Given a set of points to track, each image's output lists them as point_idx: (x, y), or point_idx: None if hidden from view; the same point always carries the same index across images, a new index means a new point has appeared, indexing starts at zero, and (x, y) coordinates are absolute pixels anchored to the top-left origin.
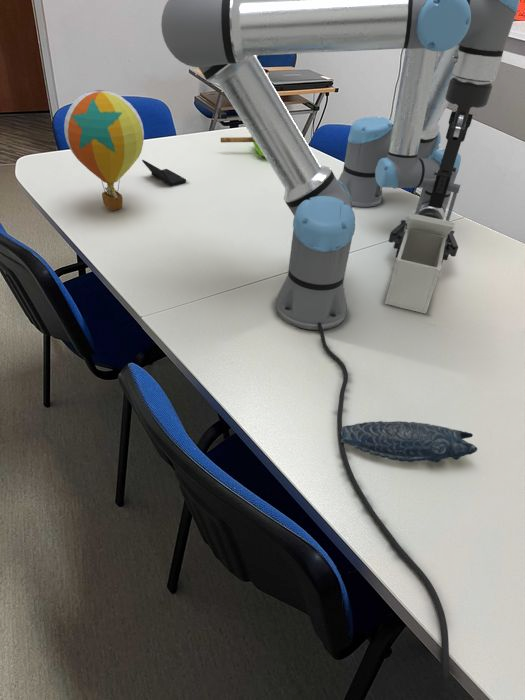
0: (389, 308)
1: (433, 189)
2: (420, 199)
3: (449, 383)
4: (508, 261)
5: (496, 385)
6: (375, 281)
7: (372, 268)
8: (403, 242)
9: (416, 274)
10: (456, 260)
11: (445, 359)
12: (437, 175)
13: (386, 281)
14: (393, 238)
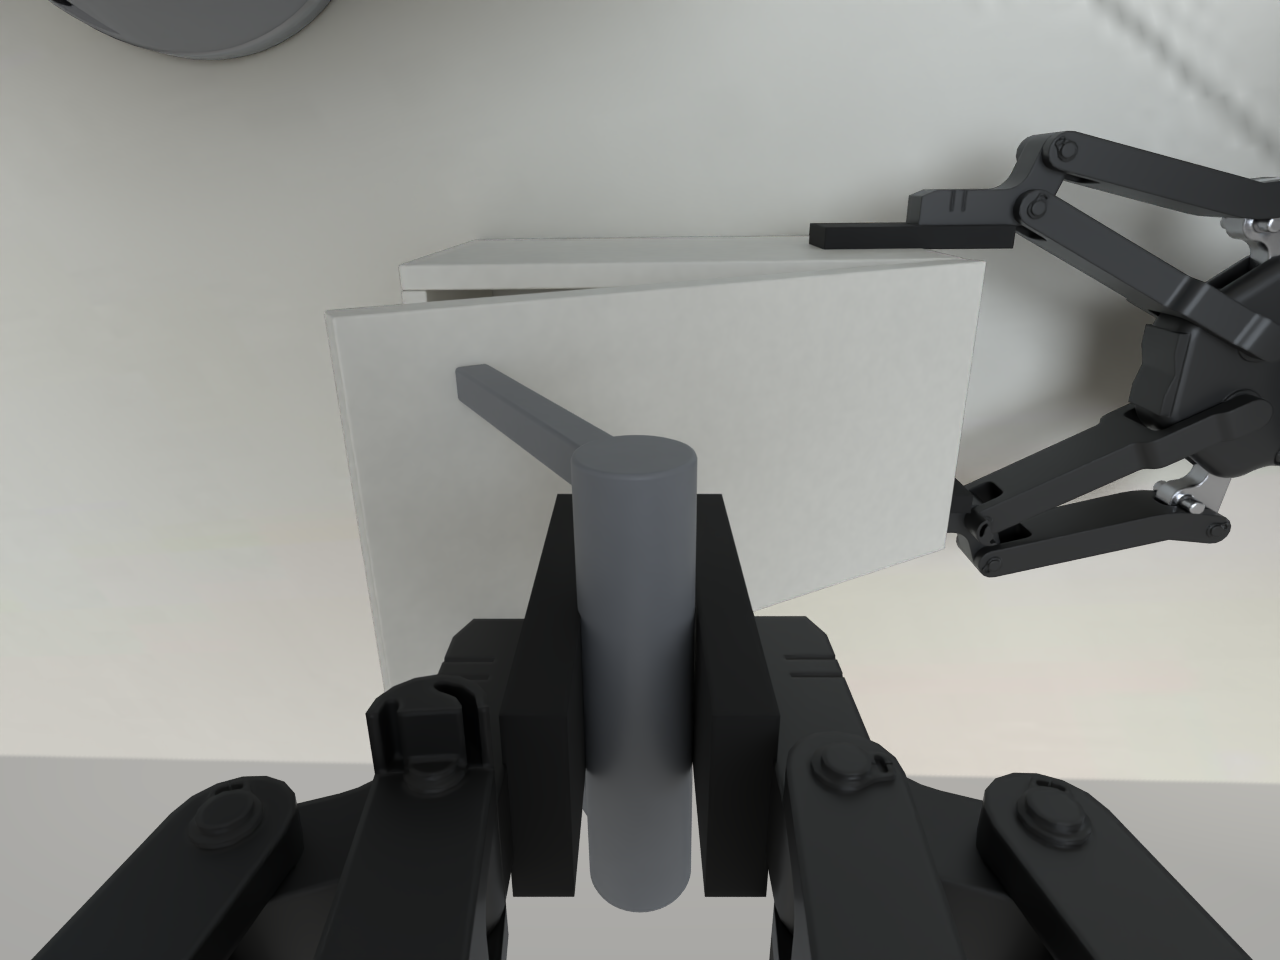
0: None
1: (534, 591)
2: (515, 419)
3: (81, 564)
4: (1154, 741)
5: (180, 700)
6: (678, 145)
7: (824, 95)
8: (695, 271)
9: None
10: None
11: (212, 541)
12: (499, 718)
13: (706, 207)
14: (1024, 167)
